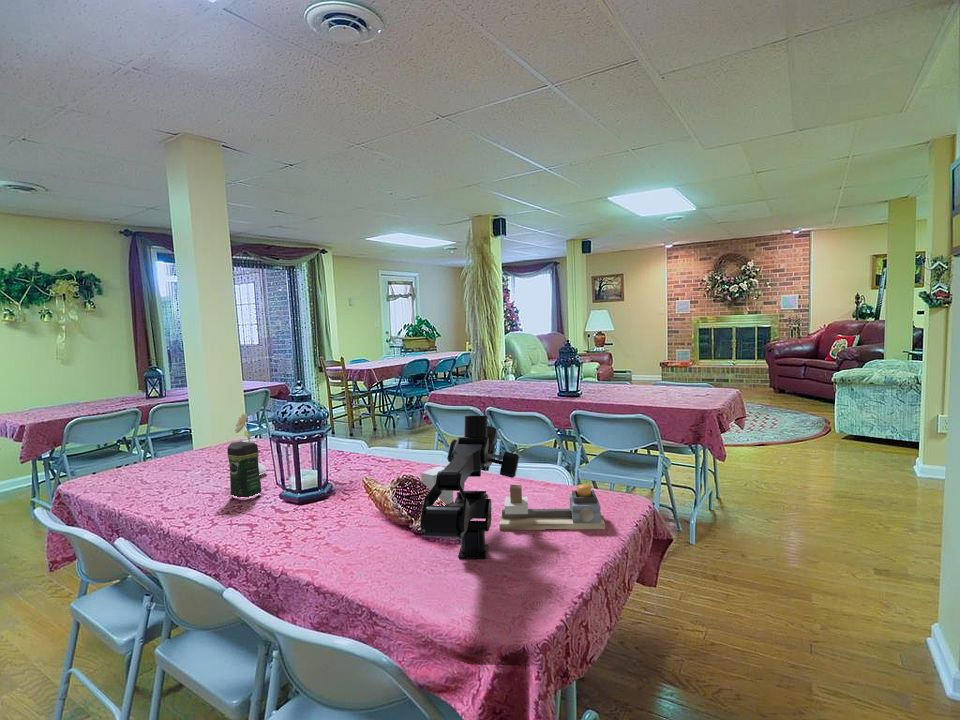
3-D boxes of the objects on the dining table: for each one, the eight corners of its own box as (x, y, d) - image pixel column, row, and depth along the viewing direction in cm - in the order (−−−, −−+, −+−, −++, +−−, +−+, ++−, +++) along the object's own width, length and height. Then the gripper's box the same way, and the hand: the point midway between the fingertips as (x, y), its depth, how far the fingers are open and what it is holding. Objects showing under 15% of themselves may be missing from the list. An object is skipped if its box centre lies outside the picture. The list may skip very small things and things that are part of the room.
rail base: (605, 529, 128) (604, 500, 127) (499, 529, 130) (498, 501, 130) (599, 514, 138) (598, 487, 137) (501, 515, 140) (500, 489, 140)
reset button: (591, 497, 131) (591, 488, 130) (577, 497, 131) (577, 488, 131) (590, 492, 134) (589, 484, 134) (576, 493, 134) (576, 484, 134)
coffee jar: (266, 495, 167) (262, 440, 165) (243, 503, 160) (239, 446, 159) (249, 491, 172) (245, 438, 171) (226, 498, 165) (222, 443, 164)
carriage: (527, 514, 131) (527, 490, 130) (505, 514, 131) (504, 491, 131) (527, 504, 138) (526, 482, 137) (506, 504, 138) (505, 482, 138)
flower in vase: (237, 474, 193) (232, 410, 192) (269, 470, 197) (264, 407, 195) (231, 484, 181) (226, 416, 179) (265, 480, 184) (260, 413, 182)
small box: (440, 499, 156) (439, 465, 155) (454, 502, 152) (452, 468, 151) (422, 506, 150) (420, 472, 149) (435, 510, 146) (433, 475, 145)
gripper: (520, 434, 126) (526, 438, 141) (450, 418, 130) (464, 423, 145) (510, 478, 124) (518, 477, 139) (440, 460, 128) (454, 462, 143)
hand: (488, 459), depth 141 cm, fingers open, 9 cm apart
